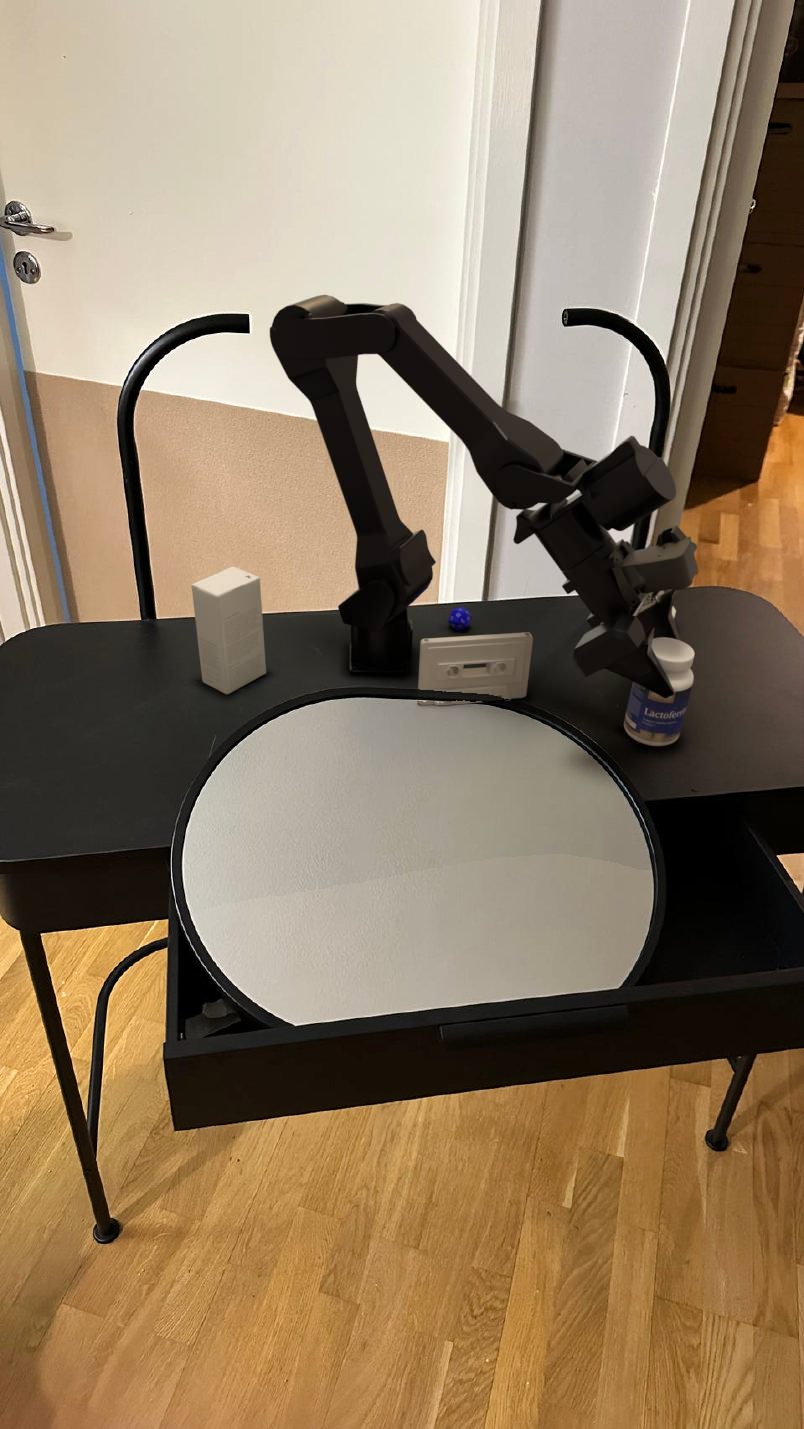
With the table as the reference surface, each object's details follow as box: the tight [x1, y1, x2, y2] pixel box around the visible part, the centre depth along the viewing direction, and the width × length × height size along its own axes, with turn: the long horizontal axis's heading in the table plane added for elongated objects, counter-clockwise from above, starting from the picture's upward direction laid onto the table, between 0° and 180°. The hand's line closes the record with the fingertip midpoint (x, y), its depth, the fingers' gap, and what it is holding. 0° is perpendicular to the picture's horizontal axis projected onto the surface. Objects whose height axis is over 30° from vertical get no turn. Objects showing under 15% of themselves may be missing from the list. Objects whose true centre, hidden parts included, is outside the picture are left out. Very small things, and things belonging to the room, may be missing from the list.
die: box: [447, 606, 473, 632], centre depth 119 cm, size 3×3×3 cm
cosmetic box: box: [191, 566, 267, 695], centre depth 105 cm, size 6×4×12 cm
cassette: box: [417, 631, 534, 706], centre depth 104 cm, size 12×2×8 cm, turn 100°
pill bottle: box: [623, 637, 695, 747], centre depth 98 cm, size 6×6×10 cm
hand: (677, 681), depth 97 cm, fingers closed on pill bottle, 6 cm apart
